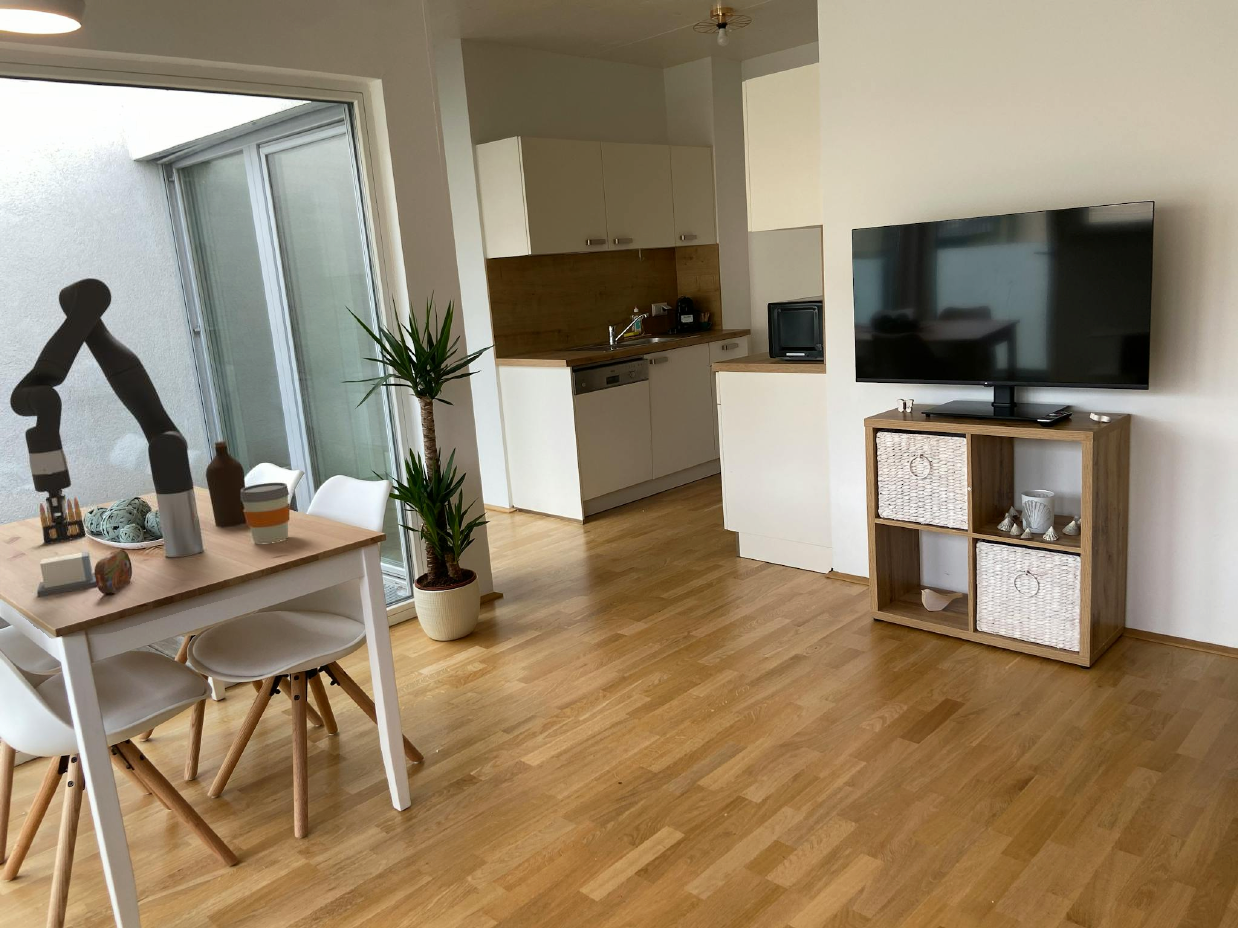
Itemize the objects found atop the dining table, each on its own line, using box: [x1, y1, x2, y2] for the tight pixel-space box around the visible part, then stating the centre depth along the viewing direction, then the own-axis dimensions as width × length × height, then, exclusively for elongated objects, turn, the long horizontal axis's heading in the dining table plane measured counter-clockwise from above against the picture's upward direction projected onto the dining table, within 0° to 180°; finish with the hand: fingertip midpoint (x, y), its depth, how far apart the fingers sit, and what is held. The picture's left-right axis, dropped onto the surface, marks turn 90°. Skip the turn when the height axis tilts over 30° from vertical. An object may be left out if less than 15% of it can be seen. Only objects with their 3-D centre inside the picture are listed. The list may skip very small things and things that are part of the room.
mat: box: [36, 572, 98, 598], centre depth 229 cm, size 13×9×1 cm
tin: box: [93, 549, 133, 595], centre depth 225 cm, size 15×3×8 cm, turn 7°
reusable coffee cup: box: [241, 482, 290, 544], centre depth 261 cm, size 13×13×15 cm
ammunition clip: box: [39, 497, 87, 544], centre depth 277 cm, size 11×2×12 cm, turn 128°
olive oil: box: [205, 440, 247, 527], centre depth 284 cm, size 11×11×25 cm
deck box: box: [39, 551, 94, 588], centre depth 229 cm, size 5×10×6 cm, turn 118°
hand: (63, 535), depth 227 cm, fingers open, 8 cm apart
